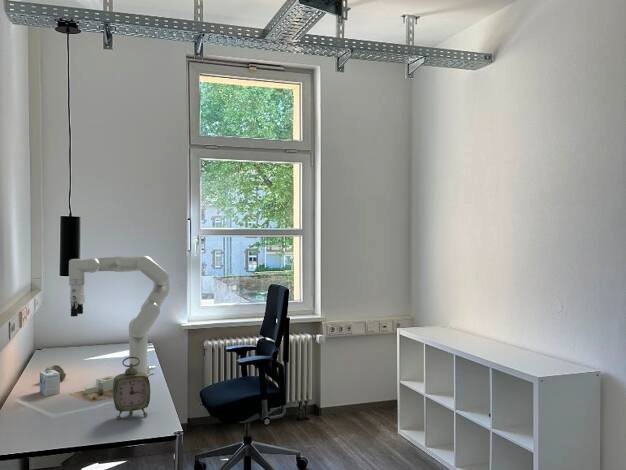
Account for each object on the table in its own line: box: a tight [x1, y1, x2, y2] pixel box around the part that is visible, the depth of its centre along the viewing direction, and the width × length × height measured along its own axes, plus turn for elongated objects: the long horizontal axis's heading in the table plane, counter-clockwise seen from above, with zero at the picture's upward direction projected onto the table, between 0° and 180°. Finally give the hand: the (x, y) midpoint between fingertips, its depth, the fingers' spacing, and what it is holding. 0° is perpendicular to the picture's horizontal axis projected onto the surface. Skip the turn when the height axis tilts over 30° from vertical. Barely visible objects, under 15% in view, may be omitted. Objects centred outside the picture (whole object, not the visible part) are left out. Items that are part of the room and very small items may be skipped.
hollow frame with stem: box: [84, 375, 115, 394], centre depth 273 cm, size 14×7×5 cm, turn 139°
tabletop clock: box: [112, 356, 151, 421], centre depth 237 cm, size 14×9×25 cm, turn 114°
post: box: [99, 382, 103, 396], centre depth 265 cm, size 2×2×6 cm
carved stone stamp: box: [44, 364, 67, 383], centre depth 296 cm, size 11×9×10 cm
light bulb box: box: [39, 370, 61, 397], centre depth 270 cm, size 11×7×11 cm, turn 40°
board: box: [68, 389, 113, 403], centre depth 268 cm, size 22×22×1 cm
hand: (77, 315), depth 296 cm, fingers open, 9 cm apart
